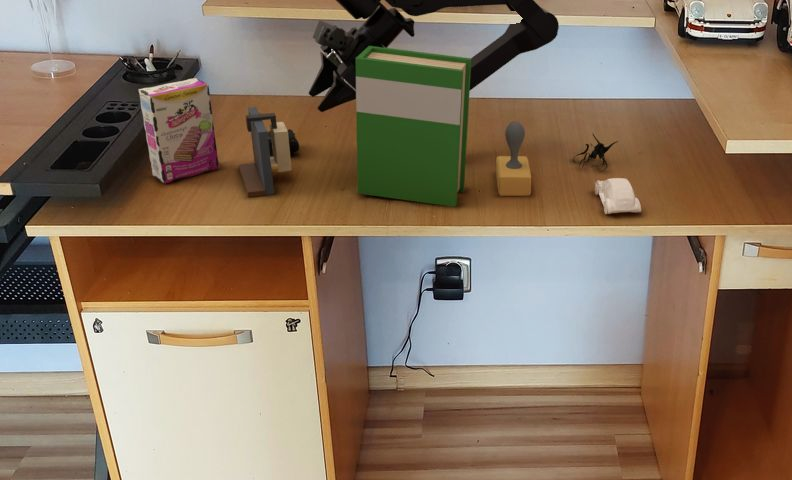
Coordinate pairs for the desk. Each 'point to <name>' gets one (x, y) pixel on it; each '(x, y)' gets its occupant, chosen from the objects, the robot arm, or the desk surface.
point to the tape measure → (292, 142)
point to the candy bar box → (179, 129)
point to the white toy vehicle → (617, 196)
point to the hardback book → (411, 124)
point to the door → (258, 162)
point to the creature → (596, 152)
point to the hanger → (275, 140)
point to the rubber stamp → (513, 165)
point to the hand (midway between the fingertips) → (314, 102)
